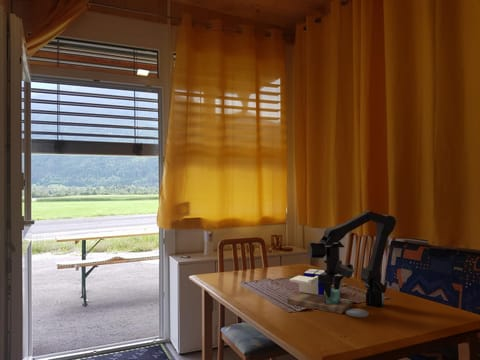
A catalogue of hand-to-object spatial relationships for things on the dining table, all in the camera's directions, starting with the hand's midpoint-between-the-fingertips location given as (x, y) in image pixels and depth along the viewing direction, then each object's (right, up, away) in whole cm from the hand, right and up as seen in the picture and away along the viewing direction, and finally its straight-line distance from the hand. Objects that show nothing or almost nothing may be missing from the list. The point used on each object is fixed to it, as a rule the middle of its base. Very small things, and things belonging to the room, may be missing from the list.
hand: (333, 294), depth 155 cm
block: (0, -5, 0) cm, 5 cm away
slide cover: (-10, -3, +8) cm, 13 cm away
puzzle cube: (-2, -6, +22) cm, 23 cm away
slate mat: (+7, -5, -9) cm, 12 cm away
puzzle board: (-5, -5, +3) cm, 8 cm away
